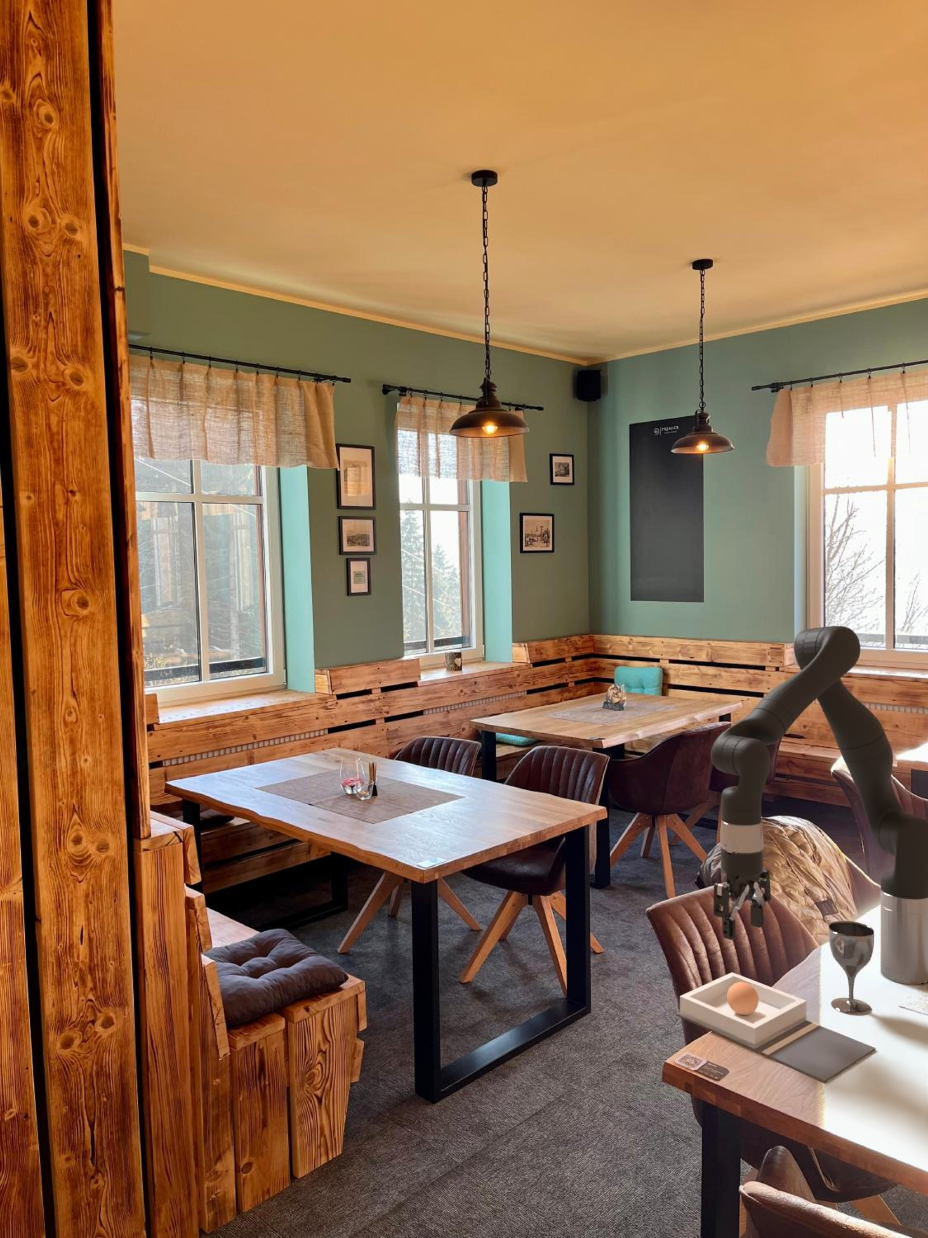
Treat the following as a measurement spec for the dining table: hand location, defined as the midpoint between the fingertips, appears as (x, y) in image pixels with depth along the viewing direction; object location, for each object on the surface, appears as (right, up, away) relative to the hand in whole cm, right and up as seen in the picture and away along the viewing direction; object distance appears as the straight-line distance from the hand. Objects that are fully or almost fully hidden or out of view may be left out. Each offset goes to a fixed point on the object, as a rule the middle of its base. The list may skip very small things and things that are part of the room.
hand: (743, 932), depth 167 cm
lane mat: (+4, -17, -4) cm, 17 cm away
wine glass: (+22, -16, +5) cm, 28 cm away
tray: (0, -16, +1) cm, 16 cm away
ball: (0, -12, +1) cm, 12 cm away
